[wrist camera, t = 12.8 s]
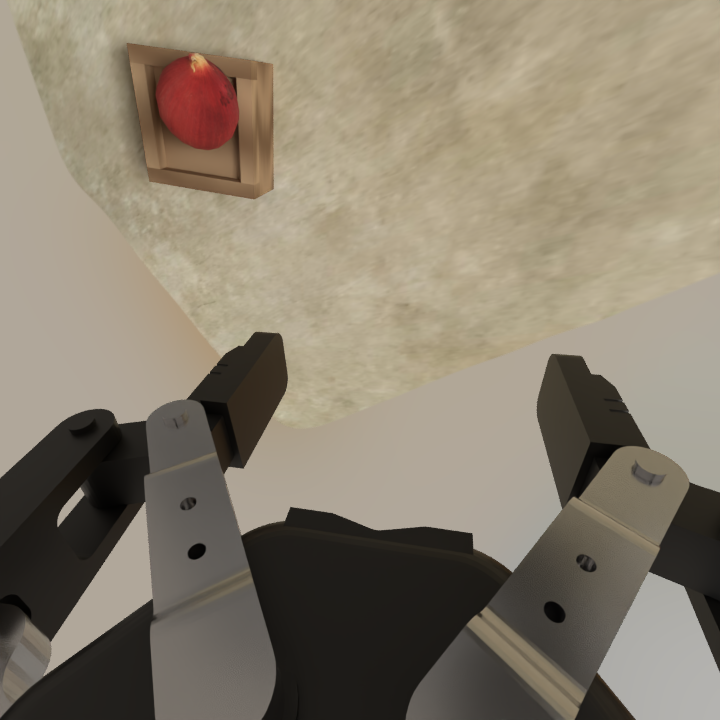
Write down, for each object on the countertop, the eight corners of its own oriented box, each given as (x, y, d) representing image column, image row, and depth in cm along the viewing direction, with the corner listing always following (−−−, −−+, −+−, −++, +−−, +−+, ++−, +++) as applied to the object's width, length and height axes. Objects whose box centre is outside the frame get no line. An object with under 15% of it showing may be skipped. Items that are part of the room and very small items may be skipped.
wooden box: (165, 49, 36) (126, 43, 31) (274, 64, 35) (250, 60, 31) (180, 172, 41) (149, 181, 37) (275, 188, 40) (254, 199, 36)
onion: (209, 104, 36) (215, 13, 28) (246, 159, 36) (262, 82, 29) (144, 120, 33) (133, 24, 26) (185, 180, 33) (185, 101, 26)
